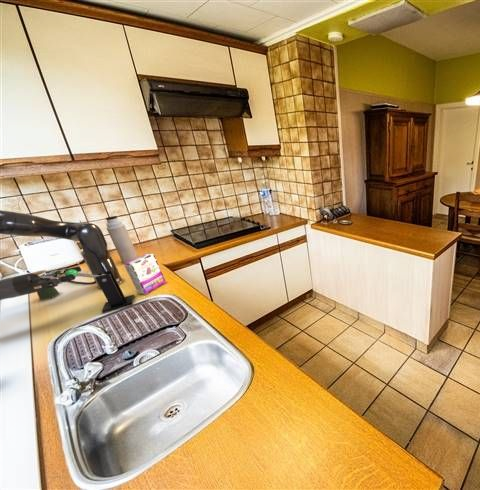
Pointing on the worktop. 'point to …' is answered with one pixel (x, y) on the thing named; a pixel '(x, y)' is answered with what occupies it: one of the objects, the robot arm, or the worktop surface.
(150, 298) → the worktop surface
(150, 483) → the worktop surface
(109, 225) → the thermos bottle
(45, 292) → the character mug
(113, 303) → the switch bracket
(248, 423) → the worktop surface
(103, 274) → the switch lever
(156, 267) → the candy bar box
